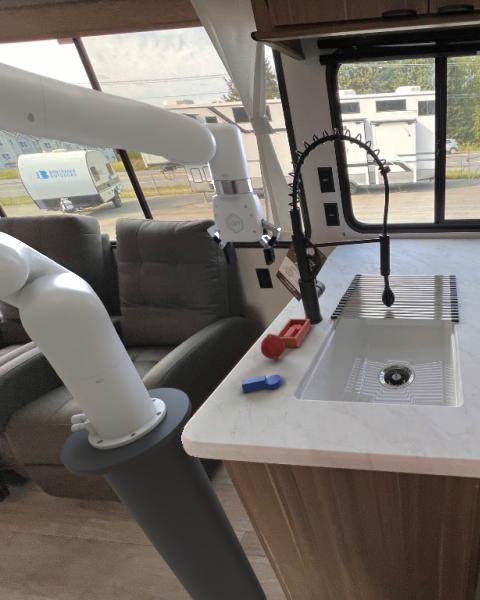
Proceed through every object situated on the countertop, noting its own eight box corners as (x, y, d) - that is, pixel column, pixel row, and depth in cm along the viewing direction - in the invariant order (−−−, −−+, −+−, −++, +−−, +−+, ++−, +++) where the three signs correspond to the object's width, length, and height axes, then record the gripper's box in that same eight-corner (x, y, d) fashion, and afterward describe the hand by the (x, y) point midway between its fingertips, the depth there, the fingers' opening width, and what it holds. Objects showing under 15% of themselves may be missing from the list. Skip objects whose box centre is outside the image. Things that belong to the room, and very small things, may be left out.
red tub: (297, 347, 86) (295, 338, 85) (276, 346, 87) (274, 337, 85) (311, 327, 96) (309, 318, 94) (291, 326, 96) (290, 318, 95)
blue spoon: (243, 395, 70) (240, 387, 69) (245, 385, 73) (243, 377, 72) (281, 387, 72) (279, 379, 71) (282, 378, 75) (280, 370, 74)
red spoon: (293, 343, 87) (292, 336, 86) (282, 343, 87) (280, 336, 86) (304, 328, 94) (303, 321, 93) (293, 328, 95) (292, 321, 94)
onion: (264, 354, 84) (257, 329, 80) (287, 350, 85) (281, 325, 82) (263, 367, 79) (256, 341, 75) (287, 362, 80) (281, 336, 77)
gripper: (184, 190, 65) (208, 268, 72) (263, 190, 63) (279, 269, 71) (208, 187, 72) (227, 258, 79) (279, 186, 70) (292, 258, 77)
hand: (251, 263), depth 75 cm, fingers open, 9 cm apart
